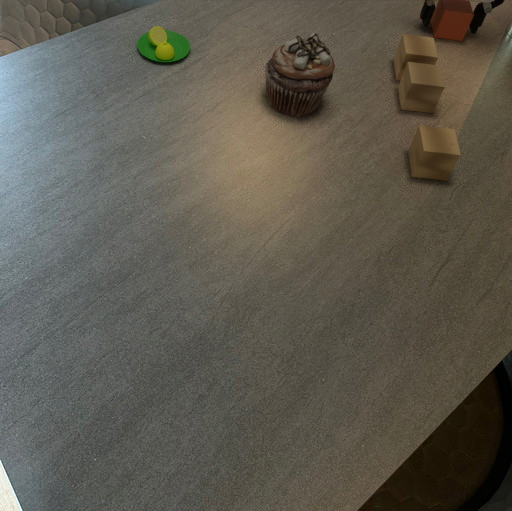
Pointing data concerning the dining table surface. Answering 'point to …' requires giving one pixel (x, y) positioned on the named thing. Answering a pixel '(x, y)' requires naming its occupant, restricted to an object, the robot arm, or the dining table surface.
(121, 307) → the dining table surface
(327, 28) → the dining table surface
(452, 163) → the maple block
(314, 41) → the cupcake
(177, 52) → the lemon
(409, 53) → the maple block
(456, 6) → the terracotta block
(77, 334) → the dining table surface
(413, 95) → the maple block
